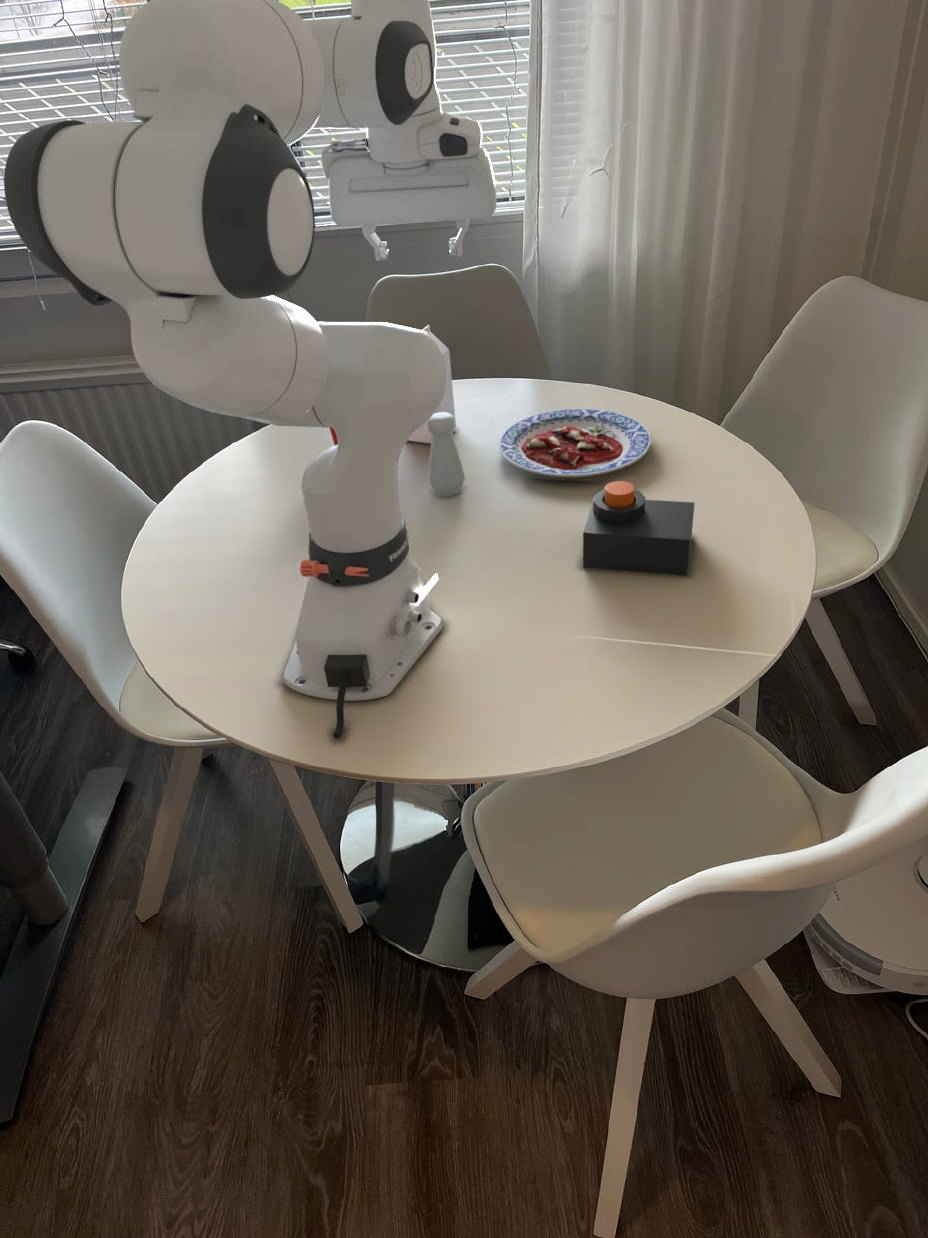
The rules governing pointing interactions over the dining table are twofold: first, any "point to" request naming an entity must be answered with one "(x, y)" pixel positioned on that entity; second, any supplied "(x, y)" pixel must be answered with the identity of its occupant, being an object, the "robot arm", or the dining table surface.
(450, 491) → the salt shaker
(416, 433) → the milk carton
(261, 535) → the dining table surface
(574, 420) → the ceramic plate
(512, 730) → the dining table surface
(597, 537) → the button base
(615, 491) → the orange push button
